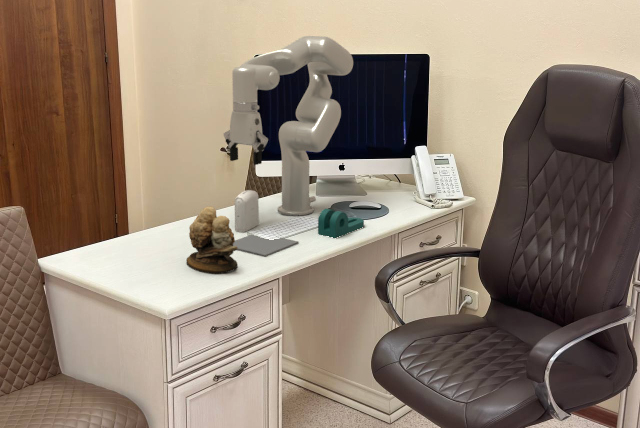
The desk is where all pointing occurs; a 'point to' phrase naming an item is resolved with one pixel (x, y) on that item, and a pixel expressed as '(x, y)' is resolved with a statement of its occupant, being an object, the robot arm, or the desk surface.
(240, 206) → the photo printer
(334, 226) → the bracket
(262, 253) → the mat
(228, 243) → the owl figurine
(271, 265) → the desk surface
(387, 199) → the desk surface
